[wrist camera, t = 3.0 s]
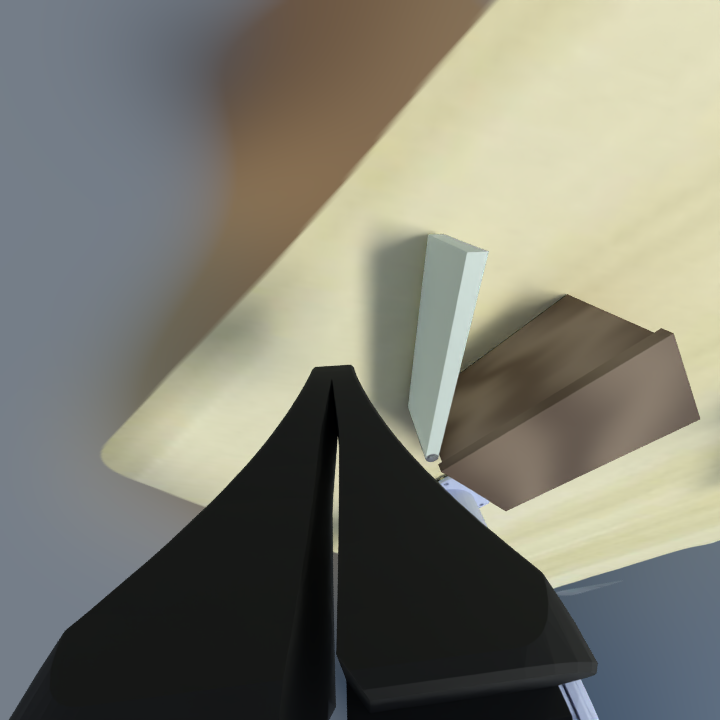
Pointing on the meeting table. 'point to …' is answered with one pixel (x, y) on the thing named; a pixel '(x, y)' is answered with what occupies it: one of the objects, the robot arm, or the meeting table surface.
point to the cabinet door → (442, 333)
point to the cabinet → (562, 402)
